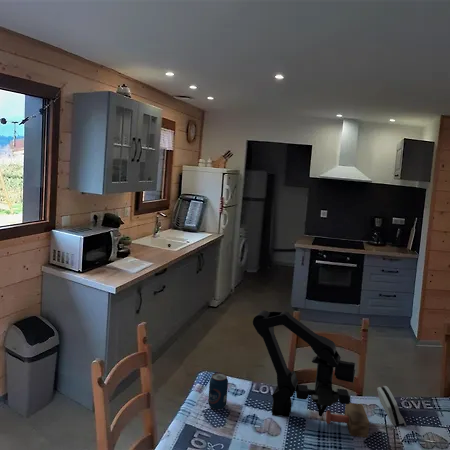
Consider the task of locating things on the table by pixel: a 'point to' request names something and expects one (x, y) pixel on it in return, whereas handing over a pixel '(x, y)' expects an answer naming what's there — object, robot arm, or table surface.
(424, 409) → the table surface
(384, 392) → the white curved piece
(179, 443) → the table surface
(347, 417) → the pin
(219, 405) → the soda can
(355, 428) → the block
